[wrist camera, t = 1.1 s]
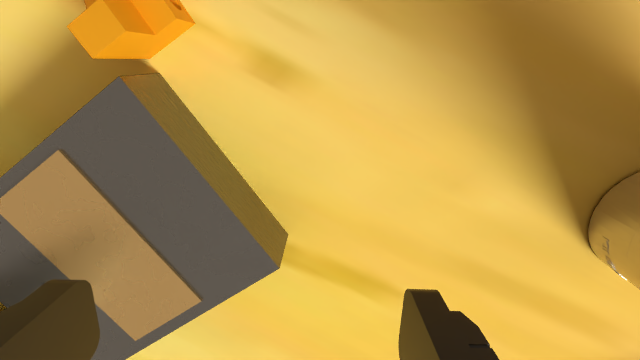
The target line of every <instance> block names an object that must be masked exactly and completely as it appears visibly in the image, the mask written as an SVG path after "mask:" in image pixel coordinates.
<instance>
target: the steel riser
mask: <svg viewBox="0 0 640 360" xmlns="http://www.w3.org/2000/svg"><path fill="white" fill-rule="evenodd" d="M287 237H288V234H287V233H286V231H285V230H284V229H283V228H282V226H281V225H280V224H279V223H278V221H277V220H276V219H275V218H274V216H273V215H272V214H271V213H270V211H269V210H268V209H267V208H266V206H265V205H264V204H263V202H262V201H261V200H260V199H259V197H258V196H257V195H256V194H255V192H254V191H253V190H252V189H251V187H250V186H249V185H248V184H247V182H246V181H245V180H244V179H243V177H242V176H241V175H240V174H239V172H238V171H237V170H236V169H235V167H234V166H233V165H232V164H231V162H230V161H229V160H228V159H227V157H226V156H225V155H224V154H223V152H222V151H221V150H220V149H219V147H218V146H217V145H216V144H215V142H214V141H213V140H212V139H211V137H210V136H209V135H208V134H207V132H206V131H205V130H204V129H203V127H202V126H201V125H200V124H199V122H198V121H197V120H196V119H195V117H194V116H193V115H192V113H191V112H190V111H189V110H188V108H187V107H186V106H185V105H184V103H183V102H182V101H181V100H180V98H179V97H178V96H177V95H176V93H175V92H174V91H173V90H172V88H171V87H170V86H169V85H168V83H167V82H166V81H165V80H164V78H163V77H162V76H161V75H160V73H156V74H143V75H130V76H119V77H118V78H117V79H115V80H114V81H113V82H112V83H111V84H109V85H108V86H107V87H106V88H105V89H104V90H102V91H101V92H100V93H99V94H98V95H97V96H95V97H94V98H93V99H92V100H91V101H90V102H88V103H87V104H86V105H85V106H84V107H83V108H81V109H80V110H79V111H78V112H77V113H76V114H74V115H73V116H72V117H71V118H70V119H69V120H67V121H66V122H65V123H64V124H63V125H62V126H60V127H59V128H58V129H57V130H56V131H55V132H53V133H52V134H51V135H50V136H49V137H47V138H46V139H45V140H44V141H43V142H42V143H40V144H39V145H38V146H37V147H36V148H35V149H33V150H32V151H31V152H30V153H29V154H28V155H26V156H25V157H24V158H23V159H22V160H21V161H19V162H18V163H17V164H16V165H15V166H14V167H12V168H11V169H10V170H9V171H8V172H7V173H5V174H4V175H3V176H2V177H1V178H0V302H1V303H2V304H3V305H4V306H5V307H7V308H8V307H10V306H12V305H14V304H16V303H18V302H20V301H22V300H24V299H25V298H26V297H28V296H29V295H30V294H32V293H33V292H34V291H35V290H37V289H38V288H39V287H41V286H42V285H43V284H45V283H46V282H48V281H50V280H53V279H65V280H86V281H88V282H89V283H90V285H91V287H92V291H93V296H94V302H95V307H96V312H97V317H98V323H99V328H100V339H99V343H98V347H97V349H96V351H95V353H94V355H93V357H92V358H91V359H90V360H125V359H127V358H129V357H130V356H132V355H134V354H135V353H137V352H139V351H140V350H142V349H144V348H146V347H147V346H149V345H151V344H152V343H154V342H156V341H157V340H159V339H161V338H162V337H164V336H166V335H168V334H169V333H171V332H173V331H174V330H176V329H178V328H179V327H181V326H183V325H184V324H186V323H188V322H190V321H191V320H193V319H195V318H196V317H198V316H200V315H201V314H203V313H205V312H206V311H208V310H210V309H212V308H213V307H215V306H217V305H218V304H220V303H222V302H223V301H225V300H227V299H228V298H230V297H232V296H234V295H235V294H237V293H239V292H240V291H242V290H244V289H245V288H247V287H249V286H250V285H252V284H254V283H256V282H257V281H259V280H261V279H262V278H264V277H266V276H267V275H269V274H271V273H272V272H274V271H276V270H278V269H279V268H280V264H281V260H282V257H283V253H284V249H285V245H286V241H287Z"/></svg>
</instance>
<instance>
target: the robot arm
mask: <svg viewBox="0 0 640 360" xmlns="http://www.w3.org/2000/svg"><path fill="white" fill-rule="evenodd" d="M588 234H589V242H590V245H591V248H592V250H593V251H594V253H595V254H596V256H597V257H598V258H599V259H600V260H602V261H603V262H604V263H605V264H607V265H608V266H609V267H611V268H612V269H613V270H614V271H615V272H616V273H617V274H619V275H620V276H621V277H623V278H624V279H626V280H628V281H629V282H630V283H632V284H633V285H634V286H636V287H637V288H639V289H640V172H638V173H636V174H634V175H632V176H630V177H628V178H626V179H624V180H623V181H621V182H620V183H618V184H617V185H616V186H614V187H613V188H612V189H611V190H610V191H609V192H608V193H607V194H606V195H605V196H604V197H603V198H602V199H601V201H600V202H599V204H598V205H597V206H596V208H595V210H594V212H593V215H592V217H591V219H590V224H589V229H588ZM99 339H100V328H99V323H98V317H97V312H96V307H95V302H94V296H93V291H92V287H91V285H90V283H89V282H88V281H86V280H65V279H53V280H50V281H48V282H46V283H45V284H43V285H42V286H41V287H39V288H38V289H37V290H35V291H34V292H33V293H32V294H30V295H29V296H28V297H26V298H25V299H24V300H22V301H20V302H18V303H16V304H14V305H12V306H10V307H8V308H7V309H5V310H3V311H1V312H0V360H90V359H91V358H92V357H93V355H94V353H95V351H96V349H97V347H98V343H99ZM399 357H400V360H499V359H498V357H497V355H496V354H495V352H494V351H493V349H492V348H490V344H489V343H488V341H487V340H486V338H485V337H484V335H483V333H482V332H481V330H480V329H479V327H478V326H477V325H476V324H475V323H473V322H472V321H471V320H470V319H469V318H467V317H466V316H465V315H464V314H463V313H462V312H460V311H449V309H448V307H447V305H446V304H445V302H444V300H443V298H442V296H441V295H440V293H439V292H438V291H437V290H425V289H407V290H406V291H405V294H404V301H403V309H402V317H401V325H400V333H399Z"/></svg>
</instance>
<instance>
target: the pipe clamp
mask: <svg viewBox="0 0 640 360" xmlns="http://www.w3.org/2000/svg"><path fill="white" fill-rule="evenodd" d="M84 1H85V4H86V8H87V9H86V10H85V11H84V12H83V13H82V14H81V15H79V16H78V17H77V18H76V19H75V20H74V21H72V22H71V23H70V24H69V25H68V26H67V27H68V29H69V30H70V31H71V32H72V34H73V35H74V36H75V37H76V39H77V40H78V41H79V42H80V44H81V45H82V46H83V47H84V49H85V50H86V51H87V52H88V54H89V55H90V56H91V57H92V58H93V59H150V58H151V57H153V56H154V55H155V54H157V53H158V52H159V51H161V50H162V49H163V48H164V47H166V46H167V45H168V44H170V43H171V42H172V41H173V40H175V39H176V38H177V37H179V36H180V35H181V34H183V33H184V32H185V31H186V30H188V29H189V28H190V27H192V26H193V25H194V24H195V22H194V21H193V19H192V18H191V16H190V15H189V14H188V12H187V11H186V9H185V8H184V6H183V5H182V3H181V2H180V0H84Z"/></svg>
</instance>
